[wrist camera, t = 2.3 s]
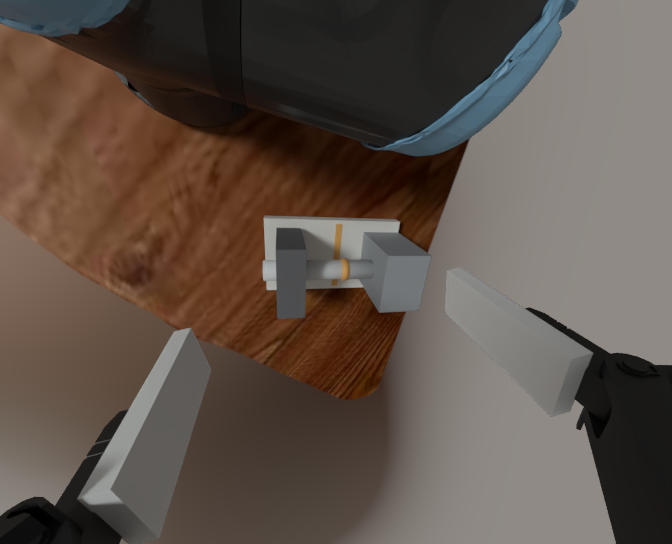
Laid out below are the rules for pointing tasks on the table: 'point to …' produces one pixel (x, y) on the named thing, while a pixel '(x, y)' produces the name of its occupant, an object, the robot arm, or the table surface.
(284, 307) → the collar
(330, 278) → the rod stand
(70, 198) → the table surface
